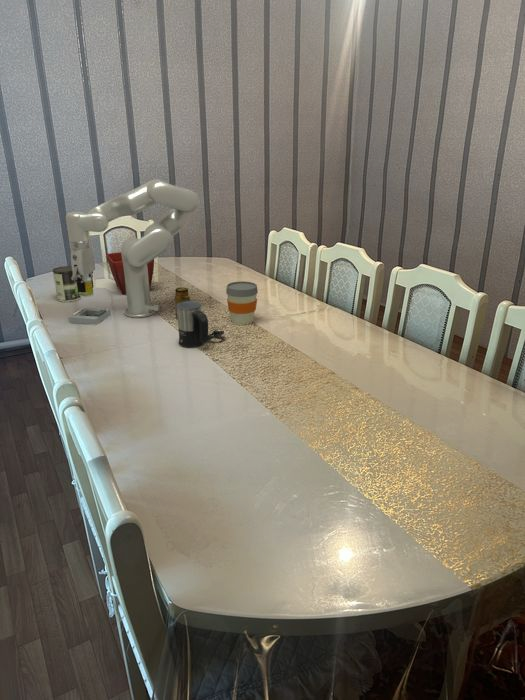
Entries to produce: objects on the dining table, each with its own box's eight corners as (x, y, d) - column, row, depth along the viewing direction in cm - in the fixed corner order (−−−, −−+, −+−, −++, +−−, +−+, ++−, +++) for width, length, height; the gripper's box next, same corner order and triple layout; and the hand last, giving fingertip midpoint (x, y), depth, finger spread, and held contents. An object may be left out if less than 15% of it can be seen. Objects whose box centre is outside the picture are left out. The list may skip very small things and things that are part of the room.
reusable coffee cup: (244, 328, 203) (244, 292, 197) (220, 322, 210) (219, 286, 204) (264, 320, 212) (264, 284, 206) (240, 313, 219) (239, 279, 213)
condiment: (186, 312, 221) (184, 285, 216) (197, 317, 215) (195, 290, 210) (171, 316, 217) (169, 288, 212) (181, 321, 211) (180, 293, 206)
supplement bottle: (89, 297, 207) (86, 274, 203) (76, 296, 208) (73, 273, 204) (95, 293, 211) (93, 270, 208) (83, 293, 212) (80, 269, 208)
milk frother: (173, 345, 189) (170, 306, 183) (198, 331, 201) (196, 294, 195) (205, 352, 182) (204, 312, 177) (229, 337, 195) (228, 300, 189)
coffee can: (84, 295, 243) (79, 265, 237) (76, 302, 234) (71, 271, 228) (62, 295, 243) (57, 265, 238) (53, 302, 234) (48, 271, 228)
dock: (110, 315, 218) (109, 307, 217) (96, 325, 207) (95, 317, 206) (84, 313, 220) (83, 305, 219) (69, 323, 209) (68, 315, 208)
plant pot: (109, 287, 256) (105, 253, 249) (148, 282, 263) (145, 249, 256) (117, 297, 240) (112, 262, 233) (157, 292, 247) (154, 257, 240)
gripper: (77, 250, 193) (83, 296, 200) (99, 241, 208) (104, 284, 216) (59, 249, 194) (66, 295, 201) (82, 240, 210) (88, 283, 217)
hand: (85, 289), depth 208 cm, fingers closed on supplement bottle, 5 cm apart
